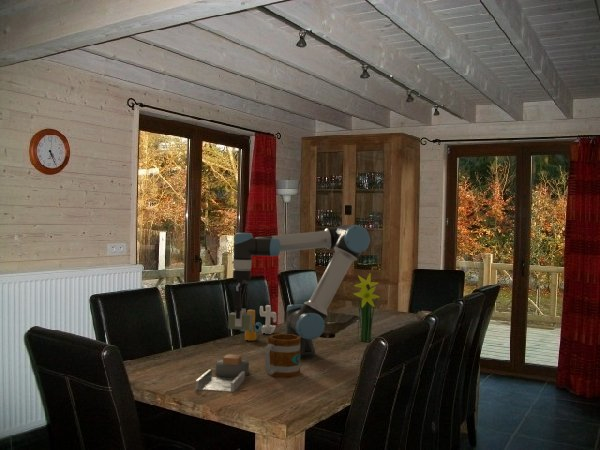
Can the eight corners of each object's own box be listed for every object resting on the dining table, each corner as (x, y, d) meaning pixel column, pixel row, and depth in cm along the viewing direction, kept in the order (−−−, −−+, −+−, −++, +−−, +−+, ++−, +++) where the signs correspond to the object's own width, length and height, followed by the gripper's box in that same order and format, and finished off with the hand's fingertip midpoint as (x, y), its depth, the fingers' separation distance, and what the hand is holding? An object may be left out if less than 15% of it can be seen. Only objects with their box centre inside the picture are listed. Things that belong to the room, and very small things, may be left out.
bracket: (244, 380, 219) (244, 371, 219) (233, 392, 203) (233, 383, 203) (208, 378, 221) (209, 369, 221) (195, 390, 205) (195, 380, 205)
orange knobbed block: (266, 339, 294) (266, 310, 294) (254, 343, 285) (254, 312, 285) (247, 336, 301) (248, 307, 301) (234, 339, 292) (235, 310, 292)
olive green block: (251, 327, 242) (252, 313, 242) (249, 330, 237) (249, 315, 237) (231, 326, 244) (231, 312, 244) (228, 328, 239) (228, 314, 239)
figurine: (273, 335, 306) (274, 306, 306) (257, 333, 309) (257, 305, 309) (278, 332, 313) (278, 305, 313) (261, 331, 316) (262, 303, 316)
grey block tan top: (251, 370, 233) (252, 353, 233) (244, 379, 220) (244, 361, 220) (220, 368, 235) (221, 351, 235) (211, 377, 222) (211, 359, 222)
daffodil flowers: (377, 347, 282) (379, 276, 282) (348, 344, 287) (349, 274, 286) (382, 340, 299) (384, 273, 298) (354, 338, 303) (356, 271, 303)
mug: (278, 368, 238) (279, 332, 238) (307, 373, 231) (307, 336, 231) (251, 379, 221) (252, 340, 221) (280, 385, 214) (281, 344, 214)
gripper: (239, 267, 250) (237, 321, 250) (227, 270, 232) (225, 328, 232) (256, 268, 249) (254, 322, 249) (245, 271, 231) (243, 329, 231)
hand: (240, 325), depth 240 cm, fingers closed on olive green block, 5 cm apart
